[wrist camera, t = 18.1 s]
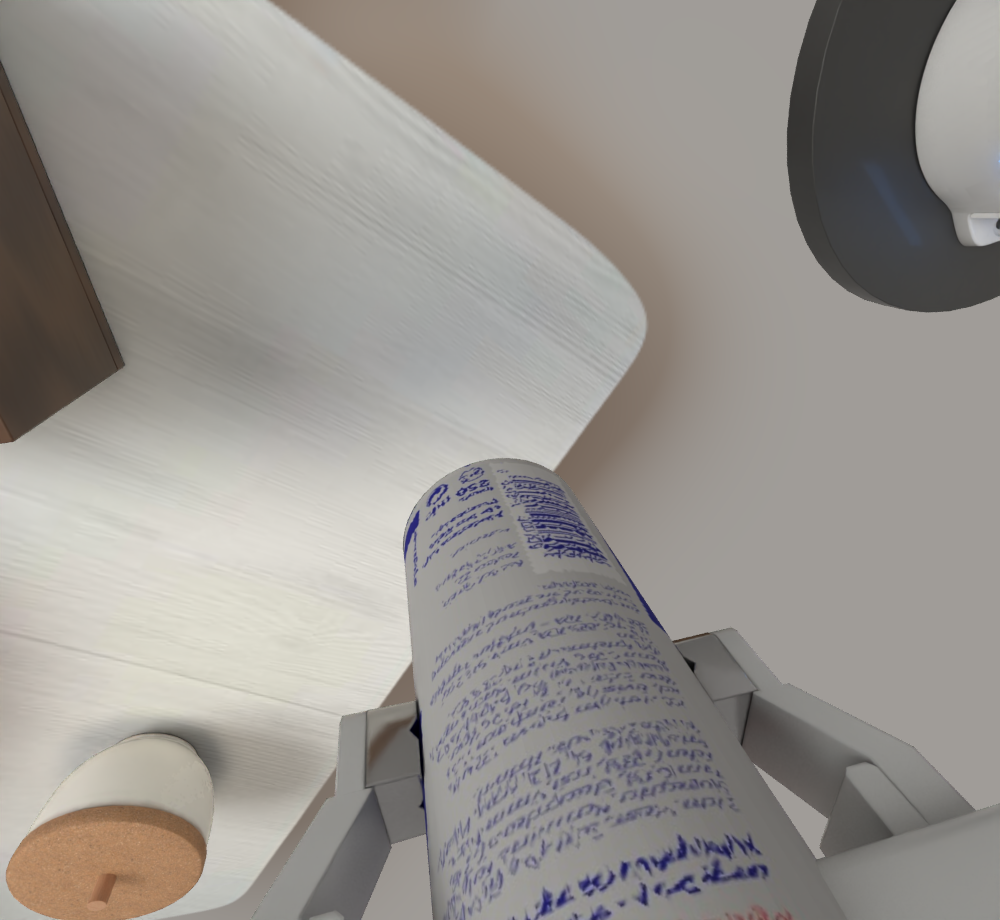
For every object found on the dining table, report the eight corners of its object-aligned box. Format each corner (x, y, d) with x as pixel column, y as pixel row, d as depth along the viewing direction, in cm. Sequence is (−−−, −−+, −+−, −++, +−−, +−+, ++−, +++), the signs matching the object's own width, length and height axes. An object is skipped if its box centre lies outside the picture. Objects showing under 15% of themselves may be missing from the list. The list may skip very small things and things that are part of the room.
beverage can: (368, 564, 16) (340, 2019, 3) (466, 418, 15) (1106, 2001, 2) (512, 621, 19) (834, 1620, 6) (609, 498, 17) (1356, 1466, 4)
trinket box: (135, 688, 37) (67, 829, 29) (261, 749, 42) (233, 883, 34) (34, 773, 38) (-58, 930, 30) (167, 822, 43) (120, 968, 35)
